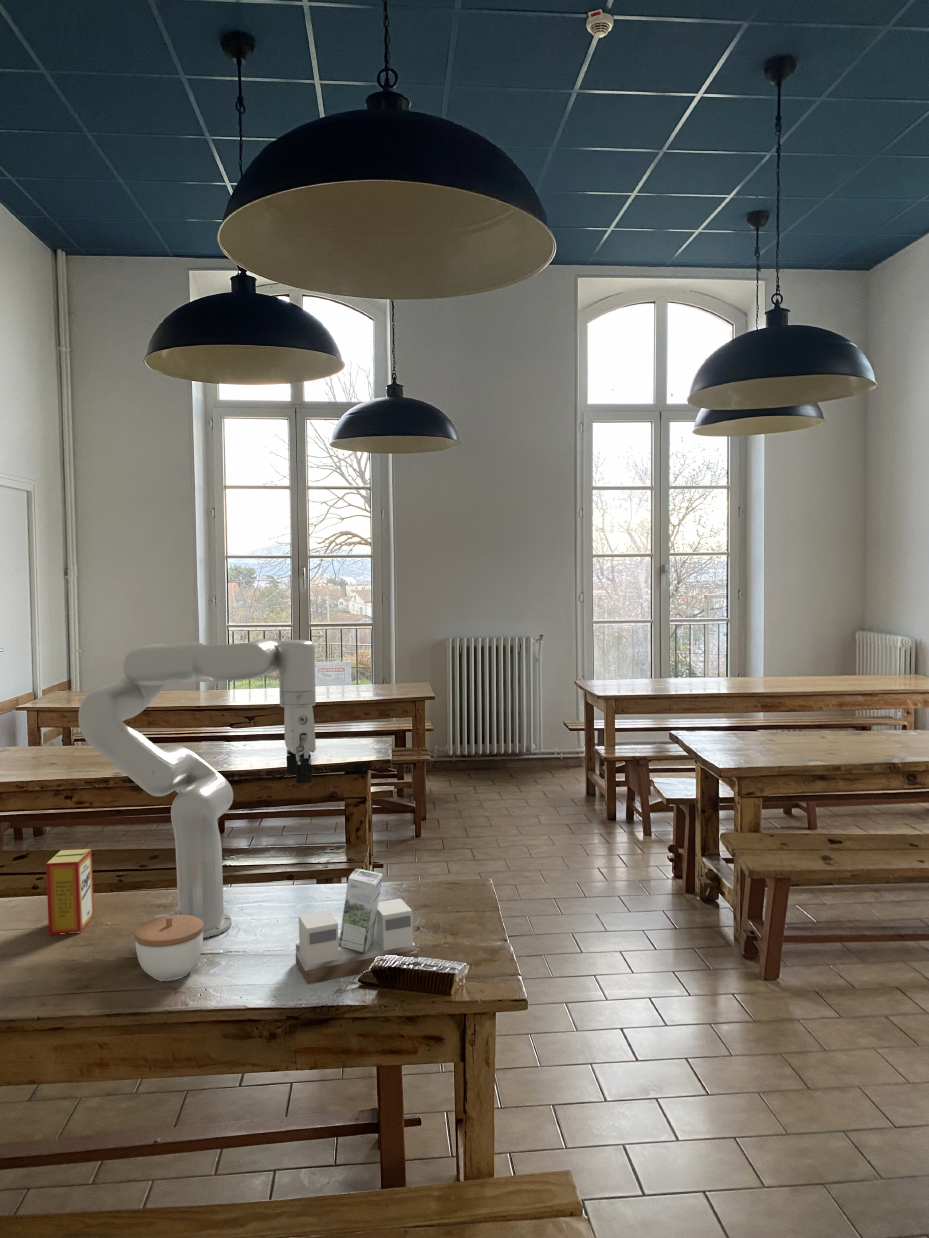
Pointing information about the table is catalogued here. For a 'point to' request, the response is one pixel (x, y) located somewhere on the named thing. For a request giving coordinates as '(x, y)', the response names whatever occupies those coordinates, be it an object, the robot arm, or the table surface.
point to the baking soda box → (70, 890)
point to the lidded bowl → (169, 945)
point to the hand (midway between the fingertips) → (299, 777)
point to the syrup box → (360, 910)
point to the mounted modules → (323, 931)
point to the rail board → (347, 962)
